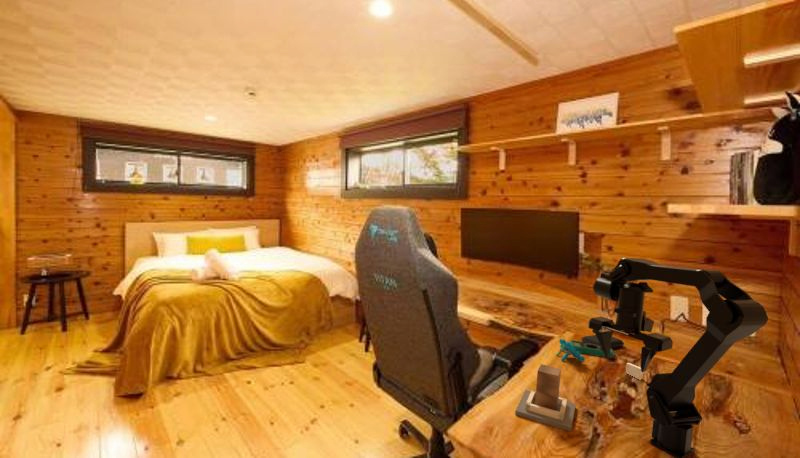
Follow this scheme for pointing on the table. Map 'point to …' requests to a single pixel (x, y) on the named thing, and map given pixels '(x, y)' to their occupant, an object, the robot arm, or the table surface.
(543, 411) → the socket plate
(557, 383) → the block
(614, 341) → the carrying case or bag
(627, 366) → the eraser
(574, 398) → the table surface
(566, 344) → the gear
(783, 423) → the table surface
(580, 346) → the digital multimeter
